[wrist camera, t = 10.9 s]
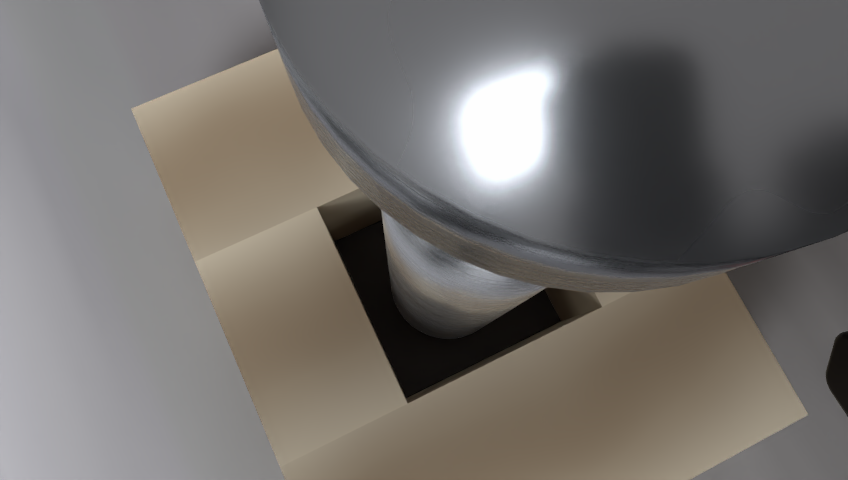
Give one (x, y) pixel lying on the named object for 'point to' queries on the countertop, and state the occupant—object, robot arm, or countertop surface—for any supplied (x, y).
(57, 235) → the countertop surface
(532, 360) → the socket block
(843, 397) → the robot arm
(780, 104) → the steel pin
